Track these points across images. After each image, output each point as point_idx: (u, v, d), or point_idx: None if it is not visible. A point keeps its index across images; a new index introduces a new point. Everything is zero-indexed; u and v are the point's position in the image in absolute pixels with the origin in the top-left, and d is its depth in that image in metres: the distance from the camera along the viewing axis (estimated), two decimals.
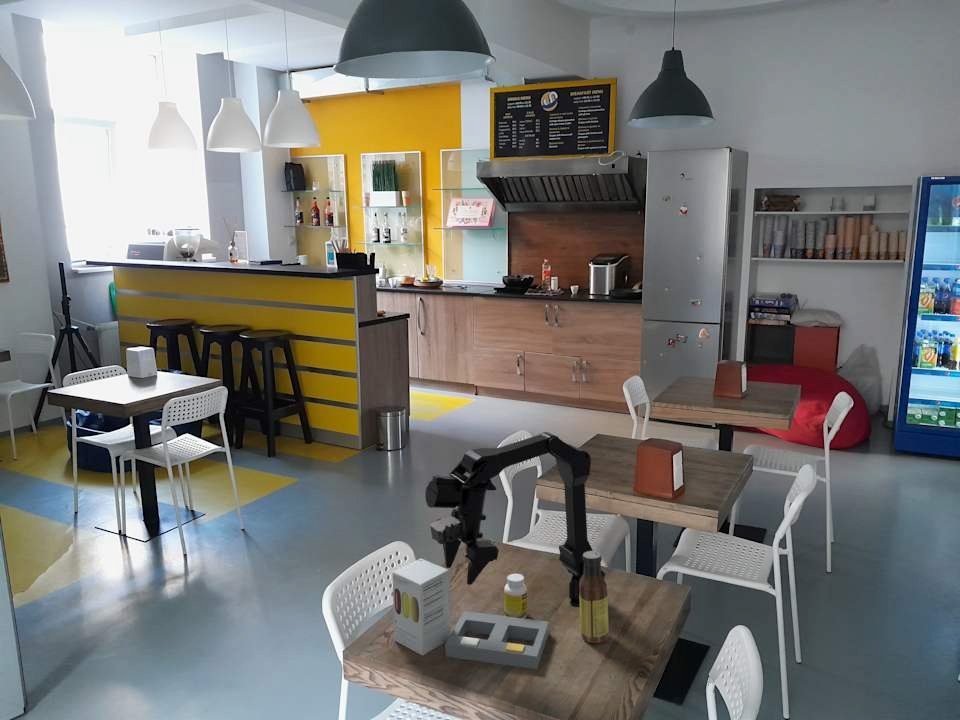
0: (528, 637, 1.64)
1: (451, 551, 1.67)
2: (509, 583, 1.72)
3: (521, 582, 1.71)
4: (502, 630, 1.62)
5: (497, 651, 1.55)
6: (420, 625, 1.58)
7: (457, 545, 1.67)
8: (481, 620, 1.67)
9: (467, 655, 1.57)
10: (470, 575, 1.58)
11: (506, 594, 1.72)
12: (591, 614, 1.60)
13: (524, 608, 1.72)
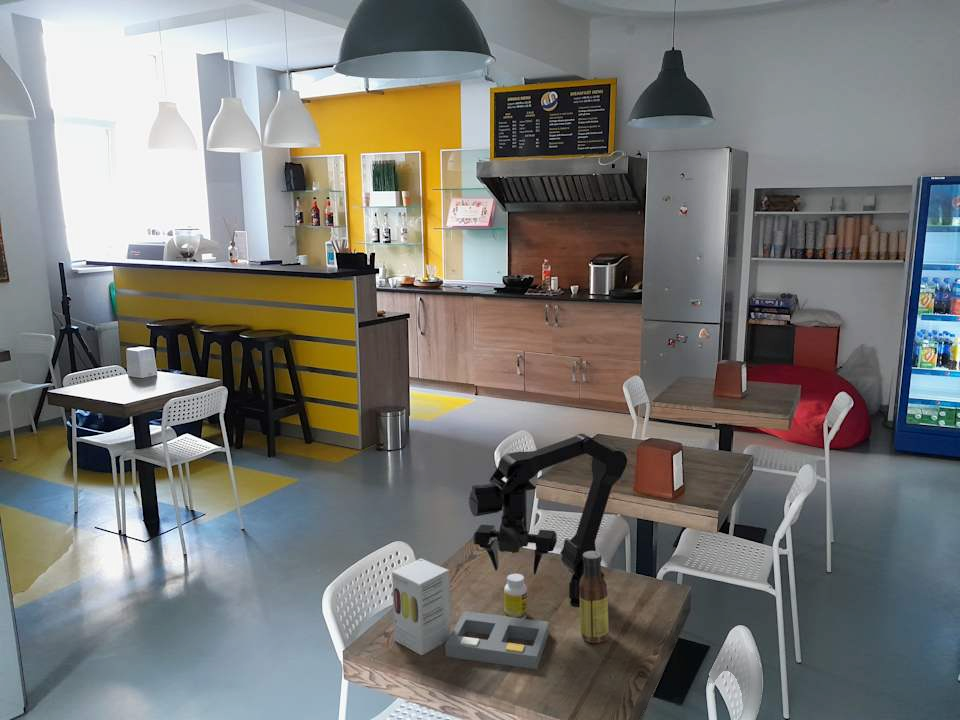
0: (528, 637, 1.64)
1: (496, 554, 1.73)
2: (509, 583, 1.72)
3: (521, 582, 1.71)
4: (502, 630, 1.62)
5: (497, 651, 1.55)
6: (419, 624, 1.58)
7: (496, 546, 1.74)
8: (481, 620, 1.67)
9: (467, 655, 1.57)
10: (537, 565, 1.70)
11: (506, 594, 1.72)
12: (591, 614, 1.60)
13: (524, 608, 1.72)
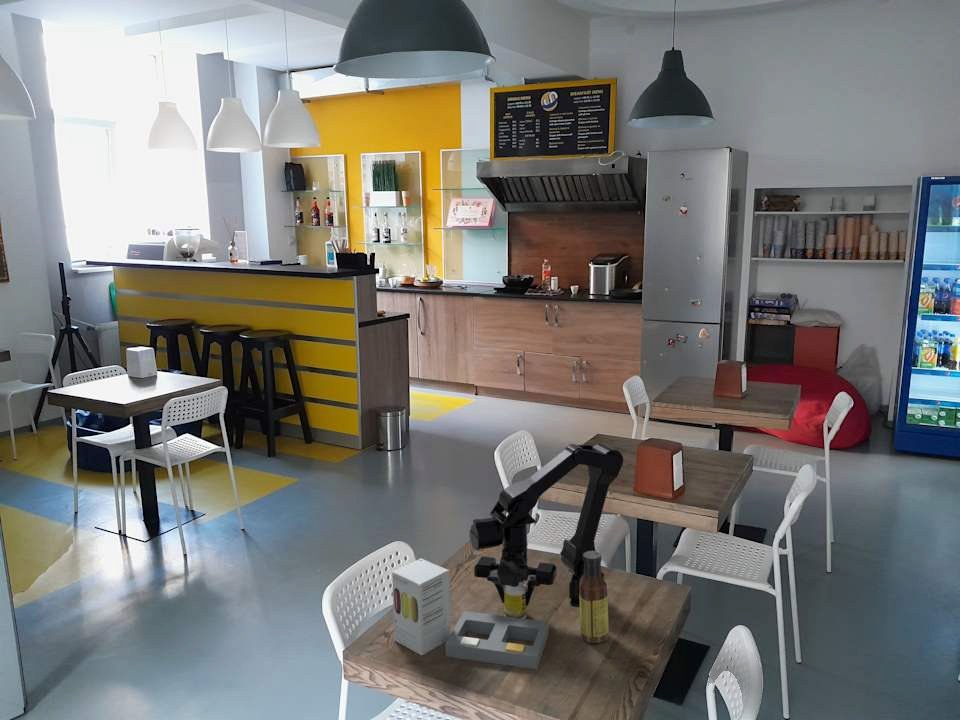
0: (528, 637, 1.64)
1: (503, 587, 1.74)
2: None
3: (521, 582, 1.71)
4: (502, 630, 1.62)
5: (497, 651, 1.55)
6: (419, 625, 1.58)
7: None
8: (481, 620, 1.67)
9: (467, 655, 1.57)
10: (530, 597, 1.72)
11: (506, 593, 1.72)
12: (591, 614, 1.60)
13: (524, 608, 1.72)
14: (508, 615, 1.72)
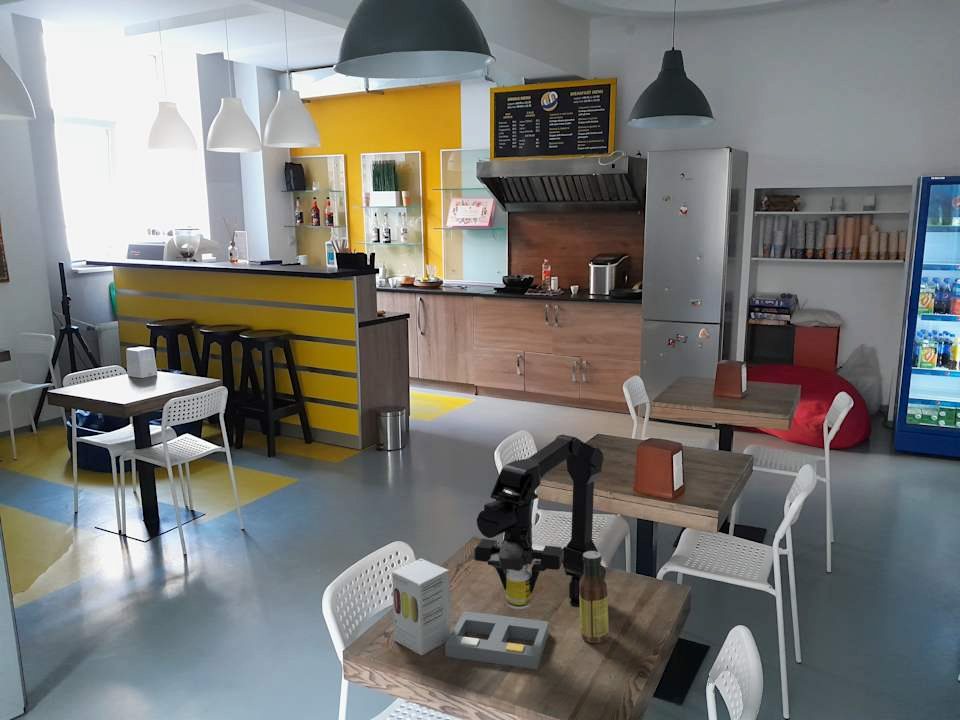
0: (528, 637, 1.64)
1: (505, 572, 1.60)
2: None
3: (524, 567, 1.57)
4: (502, 630, 1.62)
5: (497, 651, 1.55)
6: (419, 625, 1.58)
7: None
8: (481, 620, 1.67)
9: (467, 655, 1.57)
10: (535, 583, 1.57)
11: (509, 579, 1.57)
12: (591, 614, 1.60)
13: (528, 595, 1.58)
14: (510, 603, 1.58)
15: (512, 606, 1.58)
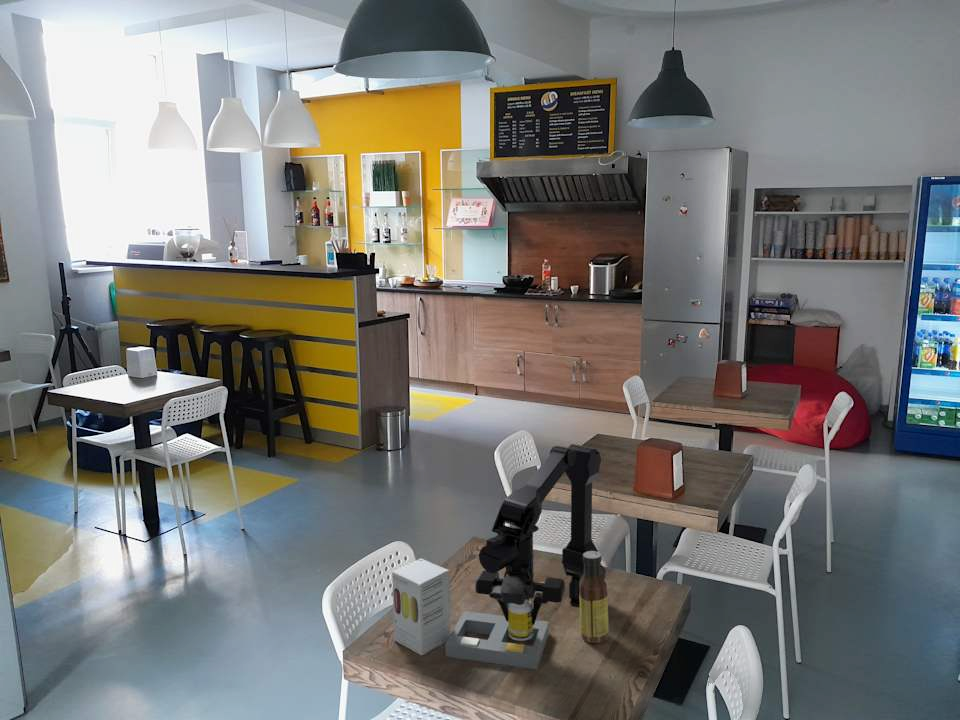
0: None
1: (507, 604, 1.60)
2: None
3: None
4: (502, 630, 1.62)
5: (497, 651, 1.55)
6: (419, 625, 1.58)
7: None
8: (481, 620, 1.67)
9: (467, 655, 1.57)
10: (536, 615, 1.58)
11: (511, 612, 1.58)
12: (591, 614, 1.60)
13: (530, 627, 1.58)
14: (513, 635, 1.58)
15: (514, 638, 1.58)
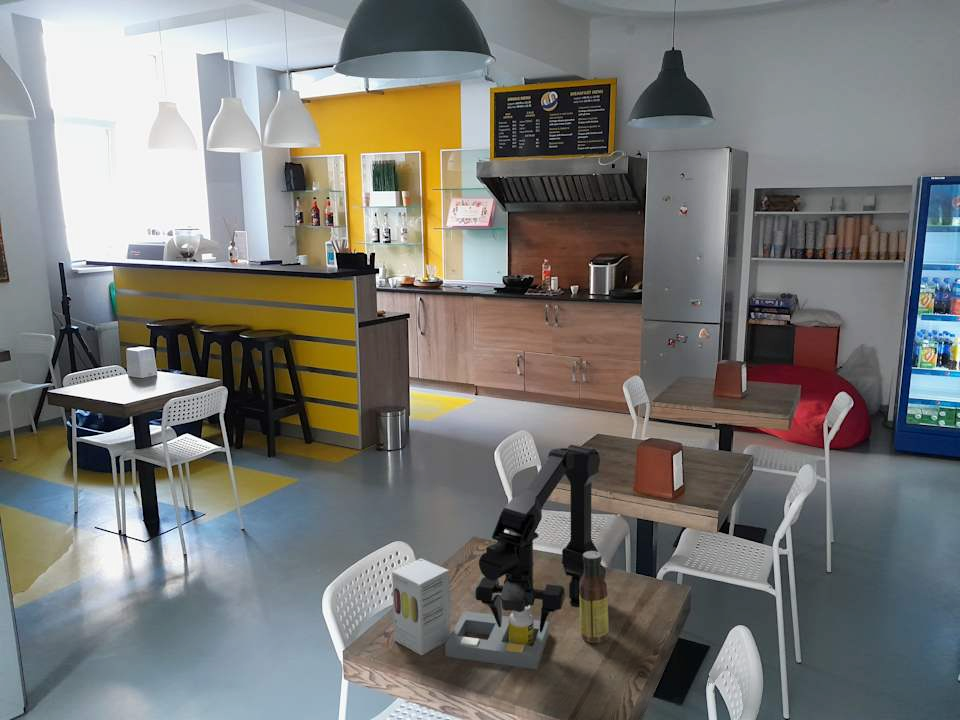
0: None
1: (499, 610, 1.61)
2: (514, 613, 1.58)
3: (527, 612, 1.58)
4: (502, 630, 1.62)
5: (497, 651, 1.55)
6: (419, 625, 1.58)
7: (500, 601, 1.62)
8: (481, 620, 1.67)
9: (467, 655, 1.57)
10: (544, 623, 1.58)
11: (511, 624, 1.58)
12: (591, 614, 1.60)
13: (530, 640, 1.59)
14: None
15: None
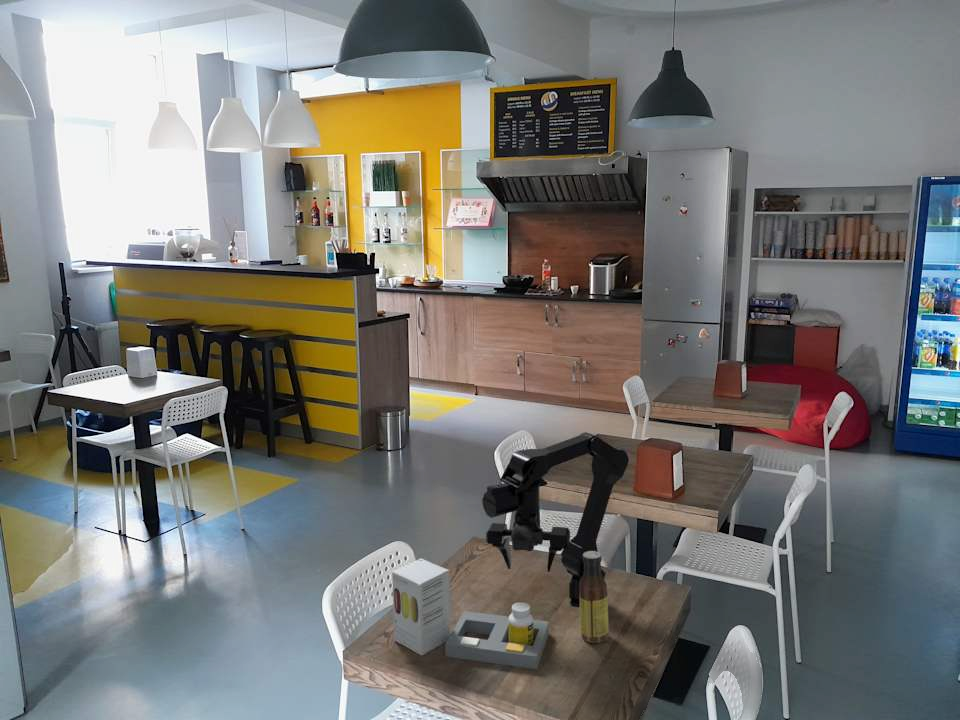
0: None
1: (508, 553, 1.71)
2: (514, 613, 1.58)
3: (527, 612, 1.58)
4: (502, 630, 1.62)
5: (497, 651, 1.55)
6: (419, 625, 1.58)
7: (509, 545, 1.72)
8: (481, 620, 1.67)
9: (467, 655, 1.57)
10: (551, 563, 1.68)
11: (511, 624, 1.58)
12: (591, 614, 1.60)
13: (530, 640, 1.59)
14: None
15: None
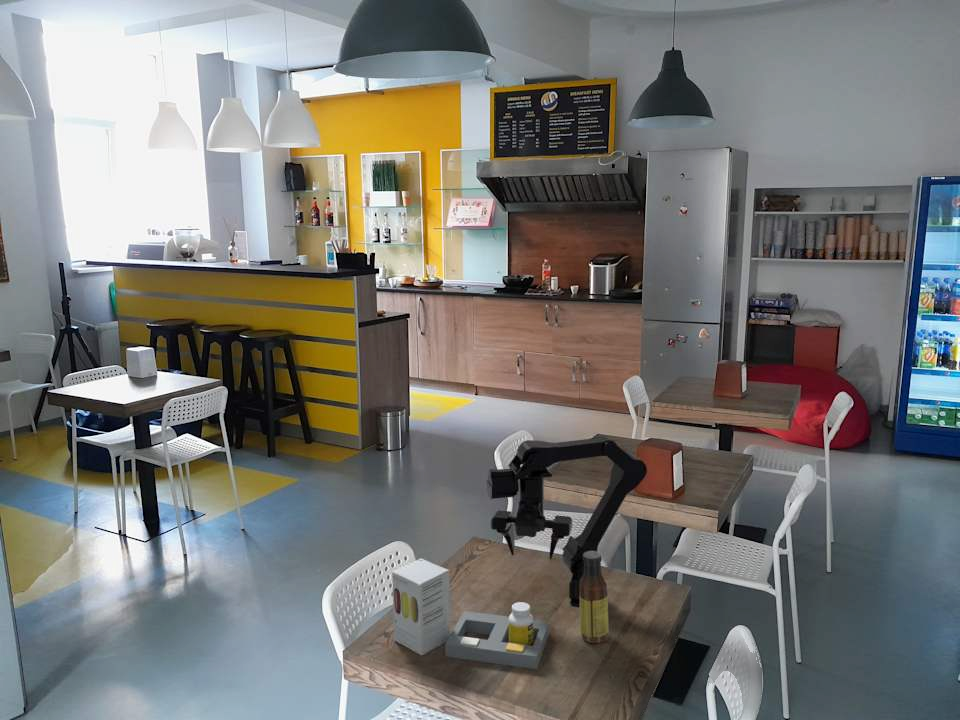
0: None
1: (512, 539, 1.77)
2: (514, 613, 1.58)
3: (527, 612, 1.58)
4: (502, 630, 1.62)
5: (497, 651, 1.55)
6: (419, 625, 1.58)
7: (513, 532, 1.78)
8: (481, 620, 1.67)
9: (467, 655, 1.57)
10: (553, 550, 1.73)
11: (511, 624, 1.58)
12: (591, 614, 1.60)
13: (530, 640, 1.59)
14: None
15: None
